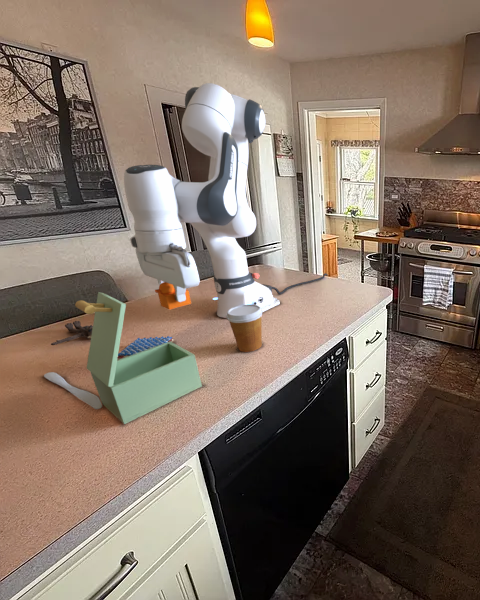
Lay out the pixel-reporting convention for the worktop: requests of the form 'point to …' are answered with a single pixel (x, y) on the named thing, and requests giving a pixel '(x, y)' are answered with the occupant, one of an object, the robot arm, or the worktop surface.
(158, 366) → the chest
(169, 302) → the rubber duck
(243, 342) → the disposable coffee cup
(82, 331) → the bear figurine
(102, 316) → the lid
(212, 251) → the robot arm
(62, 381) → the butter knife
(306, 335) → the worktop surface
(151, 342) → the woven mat
